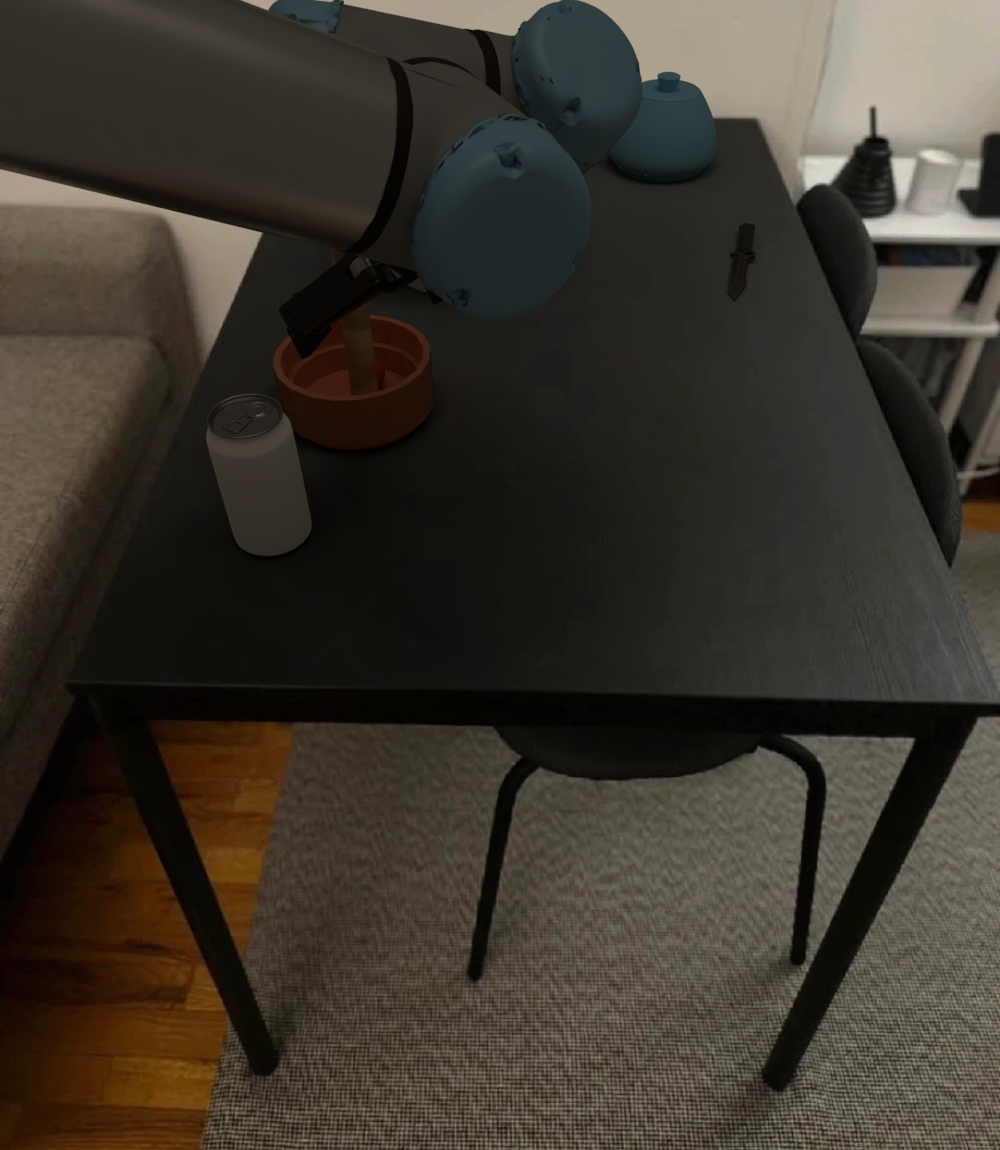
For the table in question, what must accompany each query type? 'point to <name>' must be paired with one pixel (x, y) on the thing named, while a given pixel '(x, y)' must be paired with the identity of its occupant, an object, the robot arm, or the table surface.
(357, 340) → the stick
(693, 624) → the table surface
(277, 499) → the can
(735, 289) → the knife
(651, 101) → the sugar bowl
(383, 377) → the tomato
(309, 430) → the stir bowl
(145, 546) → the table surface
